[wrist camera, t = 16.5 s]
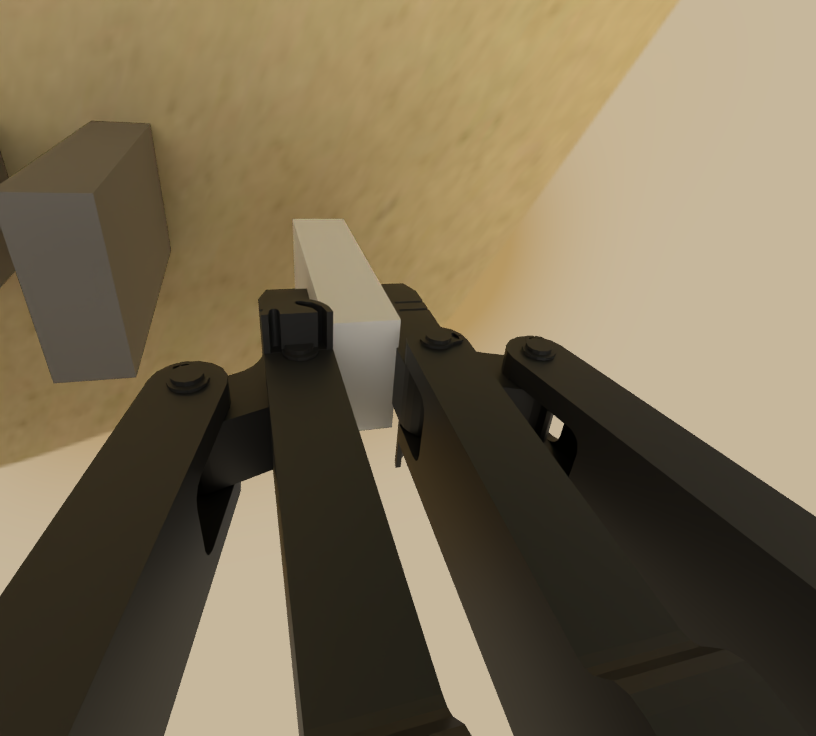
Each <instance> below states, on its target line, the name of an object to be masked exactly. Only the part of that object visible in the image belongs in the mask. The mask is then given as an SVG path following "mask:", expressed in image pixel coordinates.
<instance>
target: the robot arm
mask: <svg viewBox="0 0 816 736" xmlns="http://www.w3.org/2000/svg"><path fill="white" fill-rule="evenodd" d="M293 246H294V274H295V289H278V290H266V291H265V292H264V293H263V294H262V295H261V297H260V298H259V299H258V303H259V316H260V329H261V342H262V354H263V355H262V357H261V359H260V360H259V362H257V363H256V364H255V365H254V366H252V367H251V368H249V369H247V370H245V371H242V372H239V373H236V374H233V375H229V376H228V375H227V373H226V372H225V371H224V369H223V368H221V367H219V366H217V365H215V364H213V363H208V362H201V361H193V362H189V361H186V362H180V363H176V364H173V365H170V366H168V367H165V368H163V369H161V370H159V371H157V372H156V373H155V374H154V375H153V376H152V377H151V378H150V379H148V381H147V382H146V384H145V385H144V387H143V388H142V390H141V391H140V393H139V394H138V395H137V397H136V398H135V400H134V401H133V403H132V404H131V406H130V407H129V409H128V410H127V412H126V413H125V414H124V416H123V417H122V419H121V420H120V422H119V423H118V425H117V426H116V428H115V429H114V431H113V432H112V433H111V435H110V436H109V438H108V439H107V441H106V443H105V444H104V445H103V447H102V448H101V450H100V451H99V452H98V454H97V455H96V457H95V458H94V460H93V461H92V463H91V464H90V466H89V467H88V469H87V470H86V471H85V473H84V474H83V476H82V478H81V479H80V480H79V482H78V483H77V485H76V486H75V488H74V489H73V491H72V492H71V494H70V495H69V496H68V498H67V499H66V501H65V502H64V504H63V505H62V507H61V508H60V510H59V511H58V513H57V514H56V515H55V517H54V518H53V520H52V521H51V523H50V524H49V526H48V527H47V528H46V530H45V531H44V533H43V534H42V536H41V537H40V539H39V540H38V542H37V543H36V545H35V546H34V548H33V549H32V551H31V552H30V553H29V555H28V556H27V558H26V559H25V561H24V562H23V564H22V565H21V566H20V568H19V569H18V571H17V572H16V574H15V575H14V577H13V578H12V580H11V581H10V583H9V584H8V585H7V587H6V588H5V590H4V591H3V593H2V594H1V596H0V736H164V733H165V730H166V727H167V724H168V721H169V717H170V714H171V711H172V708H173V705H174V702H175V698H176V695H177V692H178V689H179V686H180V683H181V679H182V676H183V673H184V670H185V666H186V663H187V660H188V657H189V654H190V651H191V647H192V644H193V641H194V638H195V634H196V632H197V628H198V625H199V622H200V618H201V616H202V612H203V609H204V606H205V603H206V600H207V596H208V593H209V590H210V587H211V584H212V581H213V577H214V574H215V571H216V568H217V565H218V561H219V558H220V555H221V552H222V548H223V546H224V542H225V539H226V536H227V533H228V529H229V526H230V523H231V520H232V517H233V514H234V510H235V507H236V504H237V501H238V497H239V495H240V491H241V481H244V480H247V479H249V478H252V477H254V476H257V475H260V474H262V473H265V472H267V471H270V470H273V474H274V484H275V494H276V503H277V515H278V525H279V535H280V544H281V555H282V565H283V576H284V586H285V596H286V607H287V617H288V626H289V637H290V647H291V658H292V668H293V678H294V688H295V698H296V708H297V717H298V718H297V719H298V729H299V736H471V735H470V732H469V731H468V729H467V727H466V726H465V724H463V723H462V722H460V721H459V720H457V719H456V718H454V717H453V716H452V714H451V713H450V711H449V709H448V708H447V705H446V702H445V700H444V697H443V694H442V691H441V688H440V685H439V682H438V679H437V676H436V672H435V669H434V666H433V663H432V660H431V657H430V653H429V650H428V647H427V644H426V641H425V638H424V634H423V631H422V628H421V625H420V622H419V619H418V615H417V612H416V609H415V606H414V603H413V600H412V597H411V593H410V590H409V587H408V584H407V581H406V578H405V575H404V572H403V568H402V565H401V562H400V559H399V556H398V553H397V549H396V546H395V543H394V540H393V537H392V534H391V531H390V527H389V524H388V521H387V518H386V514H385V511H384V508H383V505H382V502H381V499H380V496H379V493H378V489H377V486H376V483H375V480H374V477H373V473H372V470H371V467H370V464H369V461H368V458H367V455H366V451H365V448H364V445H363V442H362V439H361V436H360V433H359V431H362V430H371V429H380V428H389V427H392V418H393V407H394V409H395V412H396V414H397V417H398V419H399V424H398V434H397V446H396V455H395V466H396V467H400V466H401V458H402V457H403V455H404V458H405V460H406V463H407V466H408V468H409V470H410V473H411V476H412V478H413V481H414V483H415V486H416V488H417V491H418V493H419V496H420V498H421V501H422V503H423V506H424V509H425V511H426V514H427V516H428V519H429V521H430V524H431V526H432V529H433V531H434V534H435V537H436V539H437V542H438V544H439V546H440V549H441V552H442V554H443V557H444V560H445V562H446V565H447V567H448V570H449V572H450V575H451V577H452V580H453V582H454V585H455V587H456V590H457V593H458V595H459V598H460V600H461V603H462V605H463V608H464V610H465V613H466V615H467V618H468V620H469V623H470V625H471V628H472V631H473V633H474V636H475V638H476V641H477V643H478V646H479V649H480V651H481V654H482V656H483V659H484V661H485V664H486V666H487V669H488V671H489V674H490V676H491V679H492V682H493V684H494V686H495V689H496V692H497V694H498V697H499V699H500V702H501V705H502V707H503V709H504V712H505V715H506V717H507V720H508V722H509V725H510V727H511V730H512V732H513V735H514V736H816V517H815V516H814V515H812V514H811V513H809V512H808V511H806V510H805V509H803V508H802V507H800V506H799V505H798V504H796V503H795V502H793V501H791V500H790V499H789V498H787V497H786V496H784V495H783V494H781V493H779V492H778V491H777V490H775V489H774V488H772V487H771V486H769V485H768V484H766V483H765V482H763V481H762V480H760V479H759V478H757V477H756V476H754V475H753V474H751V473H750V472H748V471H747V470H745V469H744V468H742V467H741V466H739V465H738V464H736V463H735V462H733V461H732V460H730V459H729V458H727V457H726V456H725V455H723V454H722V453H720V452H719V451H717V450H716V449H714V448H713V447H711V446H710V445H708V444H707V443H705V442H704V441H702V440H701V439H699V438H698V437H696V436H695V435H693V434H692V433H690V432H689V431H687V430H686V429H684V428H683V427H681V426H680V425H678V424H677V423H675V422H674V421H672V420H671V419H669V418H668V417H666V416H665V415H663V414H662V413H660V412H659V411H657V410H656V409H654V408H653V407H652V406H650V405H649V404H647V403H646V402H644V401H642V400H641V399H640V398H638V397H637V396H635V395H634V394H632V393H631V392H629V391H628V390H626V389H625V388H623V387H622V386H620V385H619V384H617V383H616V382H614V381H613V380H611V379H610V378H608V377H607V376H605V375H604V374H602V373H601V372H599V371H598V370H596V369H595V368H593V367H592V366H591V365H589V364H588V363H586V362H585V361H583V360H582V359H580V358H579V357H577V356H576V355H574V354H573V353H571V352H570V351H568V350H566V349H565V348H564V347H562V346H561V345H559V344H557V343H555V342H553V341H551V340H547V339H544V338H542V337H538V336H535V337H534V336H524V337H516V338H515V339H512V340H510V341H509V342H508V344H507V345H506V349H505V354H504V355H498V354H489V353H481V352H476V351H475V350H474V348H473V347H472V345H471V344H470V343H469V341H468V340H467V339H466V338H465V337H464V336H463V335H461V334H460V333H458V332H456V331H453V330H451V329H447V328H442V327H440V326H439V324H438V323H437V321H436V320H435V318H434V317H433V315H432V314H431V312H430V311H429V310H427V307H426V305H425V304H424V302H422V299H421V298H420V296H419V295H418V293H417V292H416V291H415V290H413V289H411V288H410V287H408V286H406V285H405V284H380V282H379V280H378V279H377V277H376V275H375V273H374V272H373V270H372V268H371V266H370V265H369V263H368V261H367V259H366V258H365V256H364V254H363V252H362V250H361V249H360V247H359V245H358V243H357V242H356V240H355V238H354V236H353V235H352V233H351V231H350V229H349V228H348V226H347V224H346V222H345V221H344V219H293ZM553 415H555V416H556V417H557V418H558V419H560V420H561V421H562V422H563V423H564V426H563V429H562V432H561V436H560V437H559V439H557V438H555V437H553V436H552V435H551V434H550V433H549V428H550V424H551V421H552V418H553Z"/></svg>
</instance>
